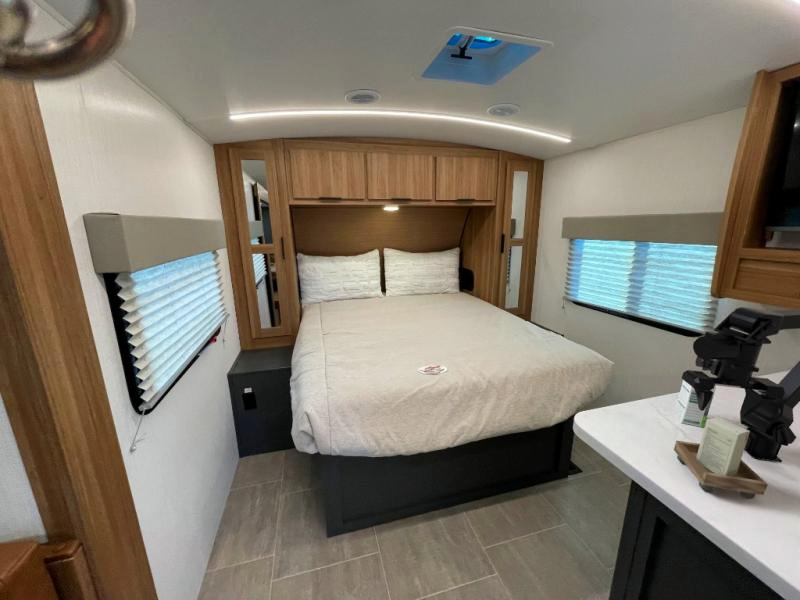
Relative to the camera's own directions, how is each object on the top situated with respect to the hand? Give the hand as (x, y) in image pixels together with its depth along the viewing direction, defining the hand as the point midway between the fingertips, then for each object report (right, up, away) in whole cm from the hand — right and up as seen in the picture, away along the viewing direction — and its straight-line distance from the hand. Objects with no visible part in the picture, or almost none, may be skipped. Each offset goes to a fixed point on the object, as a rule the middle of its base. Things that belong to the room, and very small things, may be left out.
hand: (721, 412), depth 84 cm
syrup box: (+7, -9, +18) cm, 21 cm away
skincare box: (-8, -12, -6) cm, 15 cm away
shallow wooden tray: (-7, -15, -5) cm, 17 cm away
